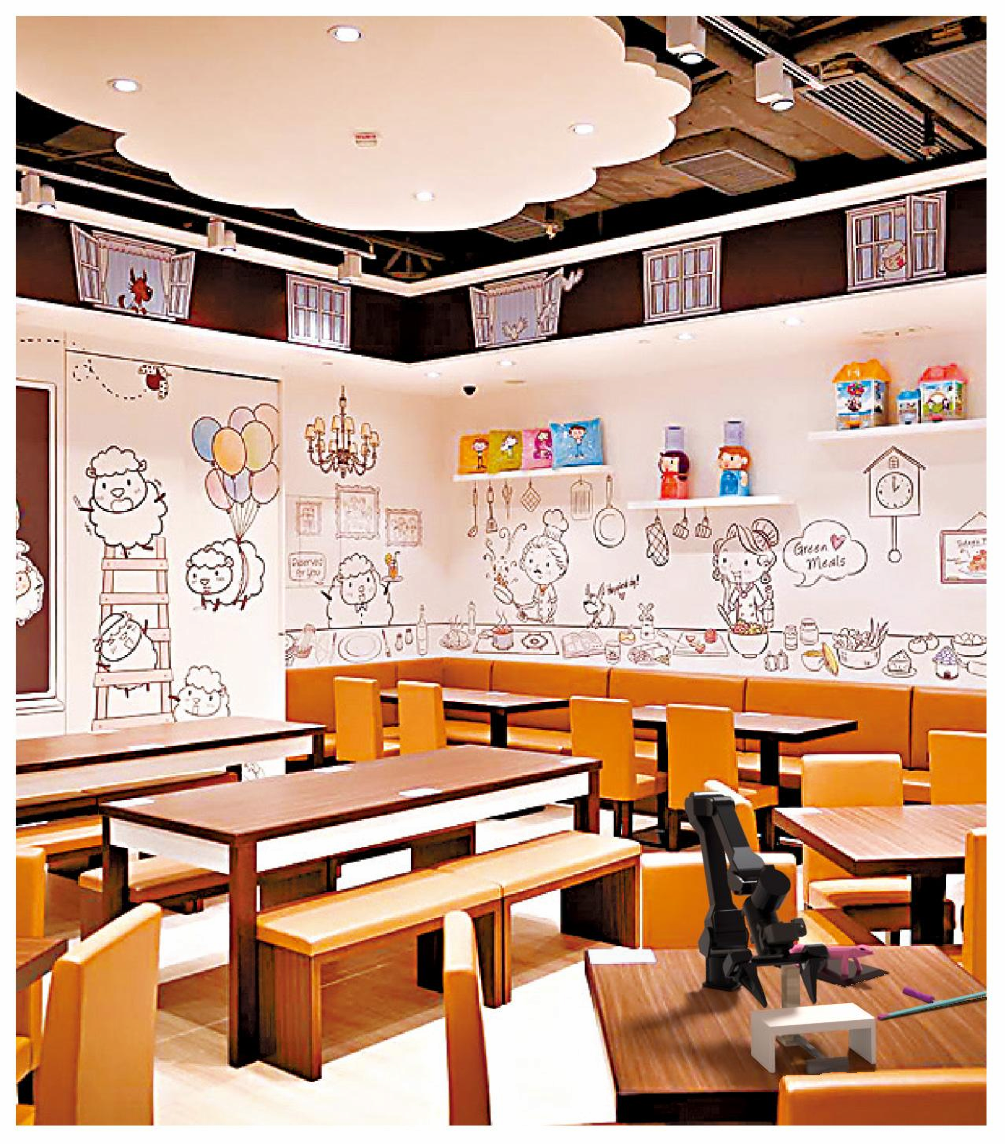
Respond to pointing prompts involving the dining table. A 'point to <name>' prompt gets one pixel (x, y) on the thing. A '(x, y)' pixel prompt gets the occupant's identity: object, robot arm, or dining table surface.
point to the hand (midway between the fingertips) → (790, 1005)
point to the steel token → (832, 1070)
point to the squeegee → (928, 999)
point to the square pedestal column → (813, 1066)
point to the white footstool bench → (811, 1028)
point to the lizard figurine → (844, 965)
